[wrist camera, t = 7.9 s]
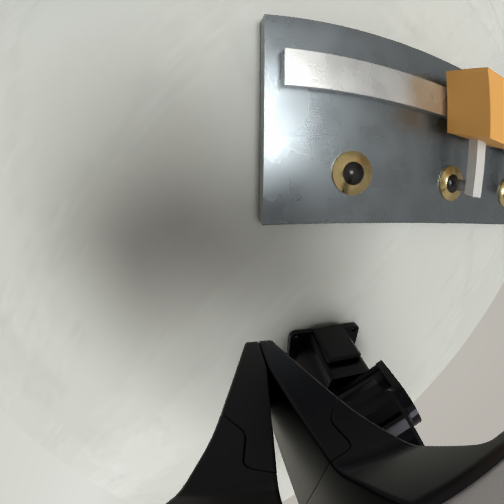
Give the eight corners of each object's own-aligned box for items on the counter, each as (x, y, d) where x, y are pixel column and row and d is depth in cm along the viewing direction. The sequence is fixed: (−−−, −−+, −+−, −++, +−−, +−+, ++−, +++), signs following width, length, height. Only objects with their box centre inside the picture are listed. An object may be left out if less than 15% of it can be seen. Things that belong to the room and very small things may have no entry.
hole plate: (506, 220, 24) (547, 241, 18) (258, 218, 20) (283, 258, 14) (515, 106, 19) (559, 113, 12) (260, 22, 15) (285, -25, 8)
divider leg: (477, 193, 20) (519, 209, 15) (435, 187, 19) (483, 205, 14) (482, 92, 16) (525, 94, 11) (439, 72, 15) (487, 67, 11)
